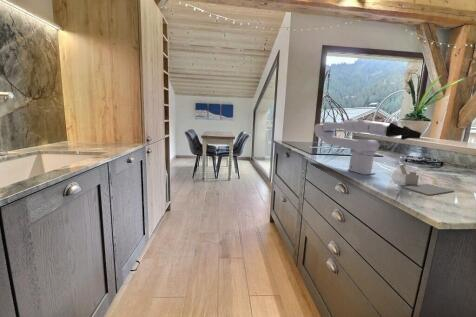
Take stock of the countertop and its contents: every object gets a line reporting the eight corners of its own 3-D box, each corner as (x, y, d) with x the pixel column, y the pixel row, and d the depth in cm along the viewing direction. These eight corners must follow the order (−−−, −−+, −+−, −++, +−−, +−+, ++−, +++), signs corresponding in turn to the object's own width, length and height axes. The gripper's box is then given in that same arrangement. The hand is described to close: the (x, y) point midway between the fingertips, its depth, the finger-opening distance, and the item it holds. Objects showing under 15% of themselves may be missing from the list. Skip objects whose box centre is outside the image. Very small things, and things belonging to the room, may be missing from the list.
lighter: (415, 184, 98) (419, 165, 96) (417, 185, 96) (421, 166, 95) (395, 181, 100) (399, 163, 99) (396, 182, 99) (400, 163, 97)
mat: (402, 187, 92) (402, 186, 92) (427, 184, 98) (427, 183, 98) (428, 195, 84) (428, 194, 84) (453, 191, 90) (454, 190, 90)
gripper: (373, 117, 101) (406, 120, 89) (394, 122, 107) (428, 126, 95) (368, 133, 102) (400, 139, 90) (389, 138, 109) (422, 143, 97)
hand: (414, 134), depth 93 cm, fingers open, 7 cm apart
